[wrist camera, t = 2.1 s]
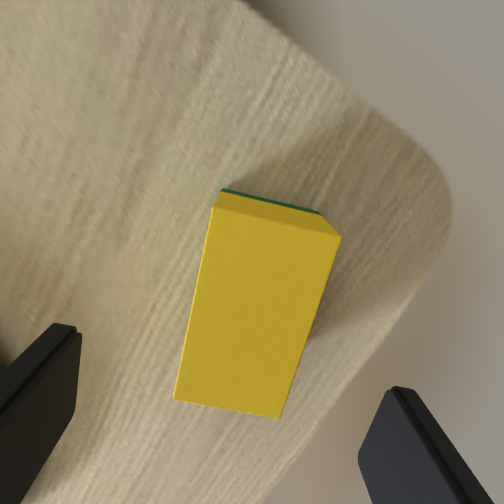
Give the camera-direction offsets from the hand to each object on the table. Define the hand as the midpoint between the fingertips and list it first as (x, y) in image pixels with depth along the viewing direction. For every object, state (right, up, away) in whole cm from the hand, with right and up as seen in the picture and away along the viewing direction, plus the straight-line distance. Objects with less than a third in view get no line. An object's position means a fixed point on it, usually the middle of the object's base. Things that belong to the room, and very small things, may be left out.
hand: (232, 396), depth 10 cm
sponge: (0, +3, +8) cm, 8 cm away
